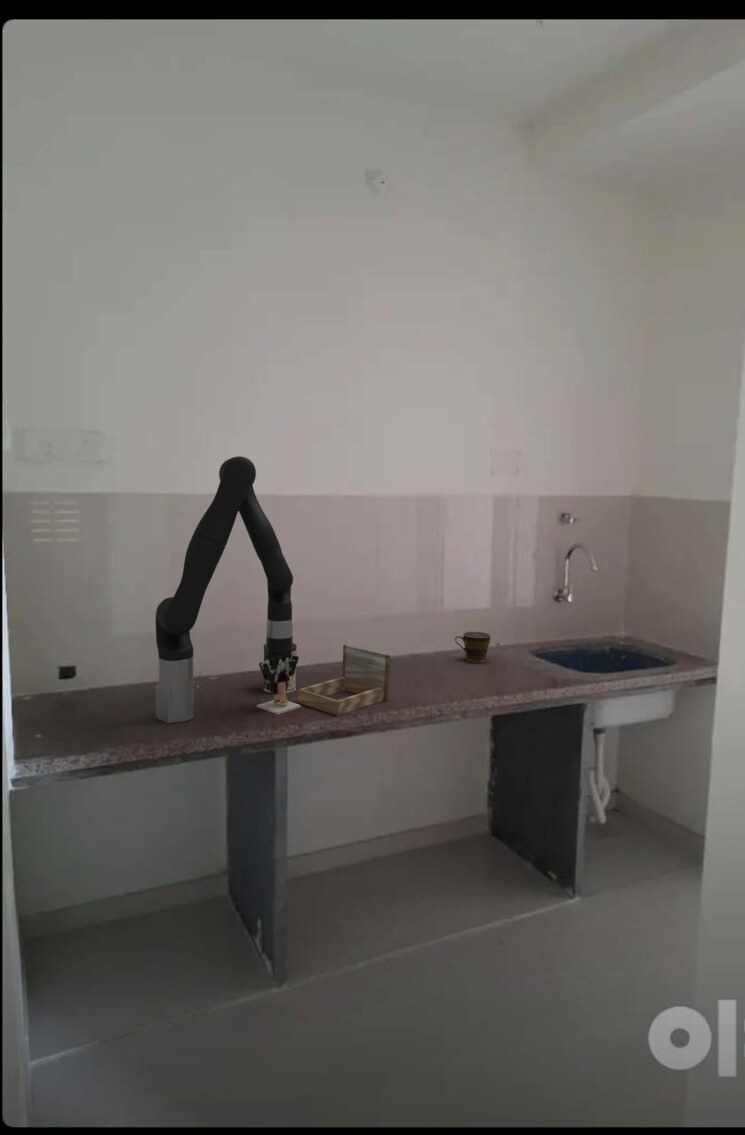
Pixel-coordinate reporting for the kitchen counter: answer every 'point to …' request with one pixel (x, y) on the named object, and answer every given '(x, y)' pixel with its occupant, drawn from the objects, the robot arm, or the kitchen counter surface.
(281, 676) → the grandmother figurine
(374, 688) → the cold frame
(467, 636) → the ceramic cup
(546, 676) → the kitchen counter surface
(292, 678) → the coffee can
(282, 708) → the tile
